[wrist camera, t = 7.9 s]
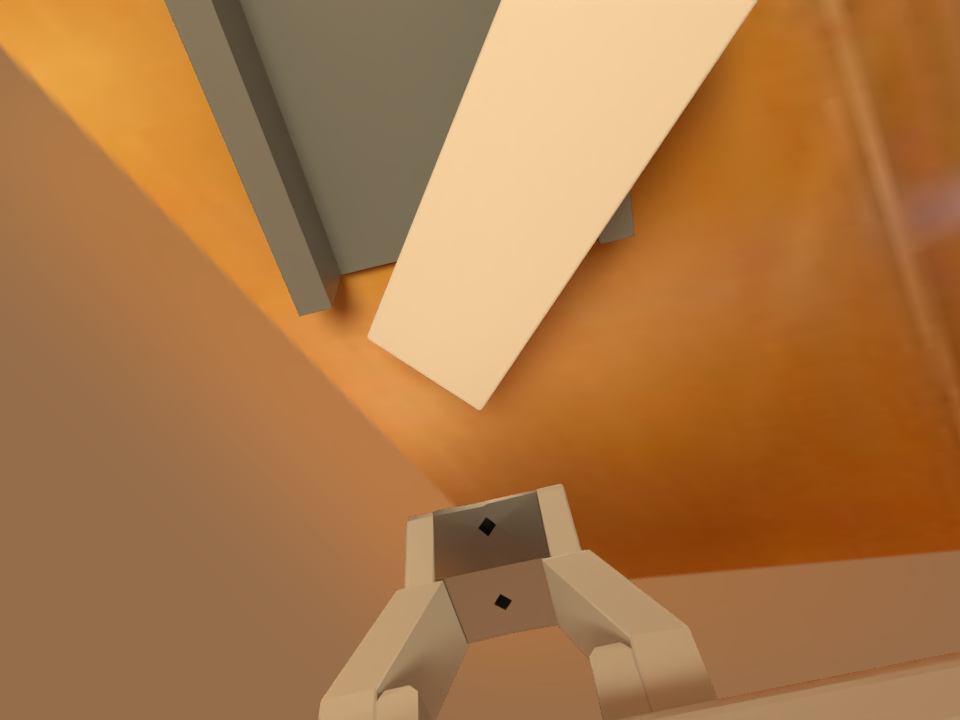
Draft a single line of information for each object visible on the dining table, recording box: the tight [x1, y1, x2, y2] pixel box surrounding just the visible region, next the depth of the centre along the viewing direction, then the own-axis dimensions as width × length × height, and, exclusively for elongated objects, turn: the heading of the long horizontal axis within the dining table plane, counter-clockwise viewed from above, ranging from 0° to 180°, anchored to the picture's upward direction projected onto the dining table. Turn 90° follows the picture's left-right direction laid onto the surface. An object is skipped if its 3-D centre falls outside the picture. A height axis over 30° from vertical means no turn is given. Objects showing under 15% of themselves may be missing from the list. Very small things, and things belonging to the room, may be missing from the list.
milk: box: [367, 0, 758, 410], centre depth 22 cm, size 6×6×22 cm
